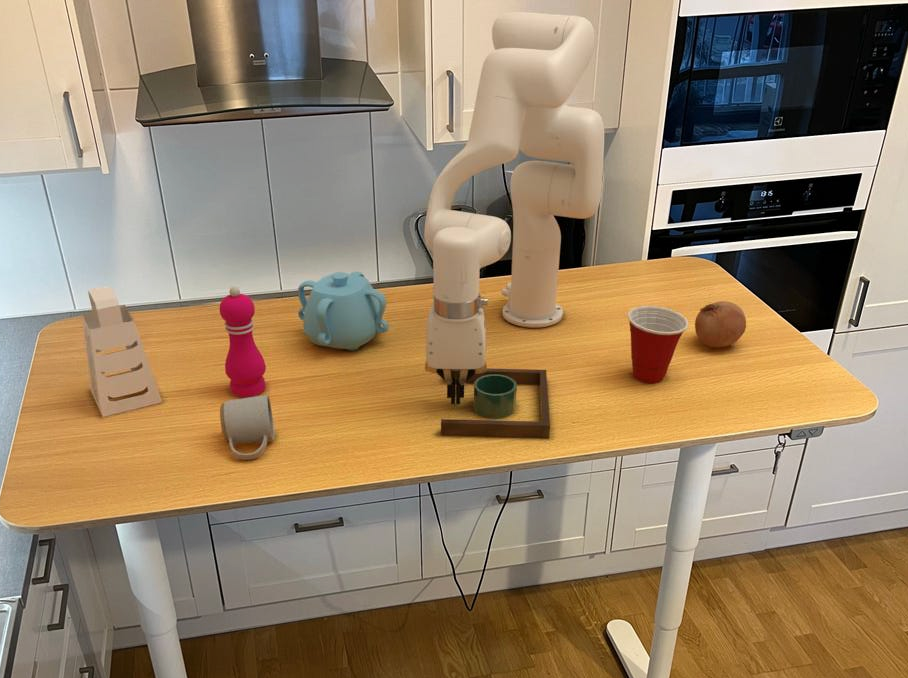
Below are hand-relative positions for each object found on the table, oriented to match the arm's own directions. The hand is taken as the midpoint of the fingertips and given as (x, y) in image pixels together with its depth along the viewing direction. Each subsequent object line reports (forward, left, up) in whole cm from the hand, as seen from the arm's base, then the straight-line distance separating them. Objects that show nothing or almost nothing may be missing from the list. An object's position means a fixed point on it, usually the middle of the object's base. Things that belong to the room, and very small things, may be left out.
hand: (455, 400), depth 163 cm
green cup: (+4, +5, -1) cm, 7 cm away
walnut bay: (+4, +5, -1) cm, 7 cm away
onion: (+12, +56, -1) cm, 57 cm away
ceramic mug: (-11, -34, -1) cm, 36 cm away
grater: (-39, -45, -1) cm, 60 cm away
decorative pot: (-35, -1, -1) cm, 35 cm away
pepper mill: (-28, -26, -1) cm, 39 cm away
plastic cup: (+13, +36, -1) cm, 38 cm away
